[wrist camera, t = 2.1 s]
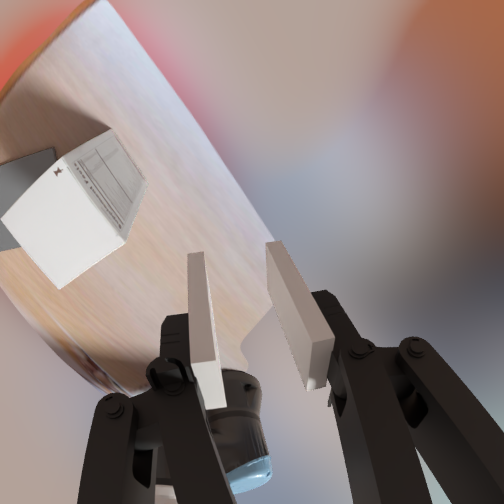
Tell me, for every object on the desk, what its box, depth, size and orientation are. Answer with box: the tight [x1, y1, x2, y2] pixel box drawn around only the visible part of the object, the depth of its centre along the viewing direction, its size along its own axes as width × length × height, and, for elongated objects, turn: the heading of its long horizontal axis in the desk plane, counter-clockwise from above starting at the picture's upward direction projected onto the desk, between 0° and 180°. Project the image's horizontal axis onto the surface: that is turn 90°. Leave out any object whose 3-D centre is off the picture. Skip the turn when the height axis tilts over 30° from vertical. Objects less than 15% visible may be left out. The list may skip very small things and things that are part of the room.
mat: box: [0, 147, 57, 251], centre depth 34 cm, size 13×17×1 cm
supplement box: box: [1, 129, 148, 290], centre depth 29 cm, size 10×9×17 cm
